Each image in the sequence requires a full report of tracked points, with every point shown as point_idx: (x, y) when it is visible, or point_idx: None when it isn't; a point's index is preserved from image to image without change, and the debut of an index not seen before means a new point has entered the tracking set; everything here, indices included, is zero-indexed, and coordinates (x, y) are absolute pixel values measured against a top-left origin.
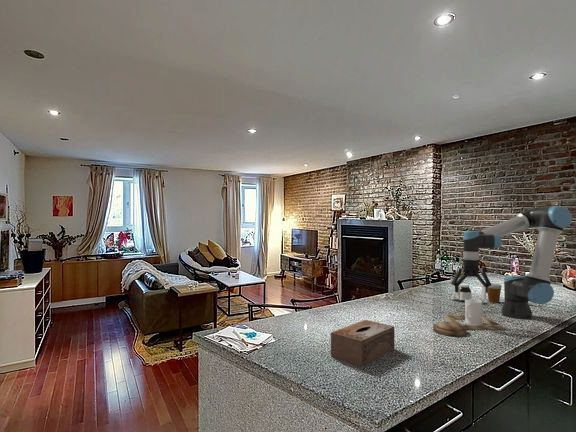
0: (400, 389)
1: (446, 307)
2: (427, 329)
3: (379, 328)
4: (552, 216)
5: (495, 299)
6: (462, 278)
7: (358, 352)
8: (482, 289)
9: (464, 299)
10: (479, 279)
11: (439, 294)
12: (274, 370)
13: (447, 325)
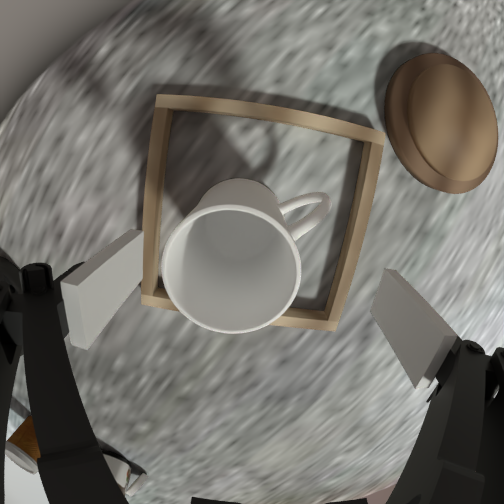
0: None
1: (210, 438)
2: (493, 175)
3: None
4: None
5: (32, 425)
6: (479, 429)
7: None
8: (102, 315)
9: (115, 460)
10: (85, 413)
11: (158, 501)
12: None
13: (470, 119)
